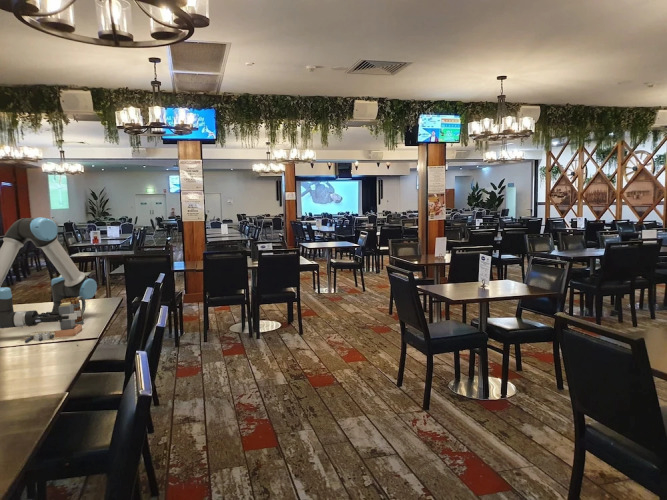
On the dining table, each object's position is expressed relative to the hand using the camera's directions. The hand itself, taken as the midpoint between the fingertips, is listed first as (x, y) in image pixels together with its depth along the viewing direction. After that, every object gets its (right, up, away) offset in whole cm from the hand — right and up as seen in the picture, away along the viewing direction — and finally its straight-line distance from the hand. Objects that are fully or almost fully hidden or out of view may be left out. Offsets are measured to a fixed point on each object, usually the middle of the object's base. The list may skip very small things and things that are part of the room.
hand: (78, 314), depth 238 cm
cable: (-14, -11, -9) cm, 19 cm away
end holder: (-5, -9, 0) cm, 10 cm away
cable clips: (-13, -11, -8) cm, 18 cm away
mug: (-11, -9, +19) cm, 24 cm away
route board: (-12, -11, -1) cm, 16 cm away
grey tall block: (-5, -7, 0) cm, 9 cm away
